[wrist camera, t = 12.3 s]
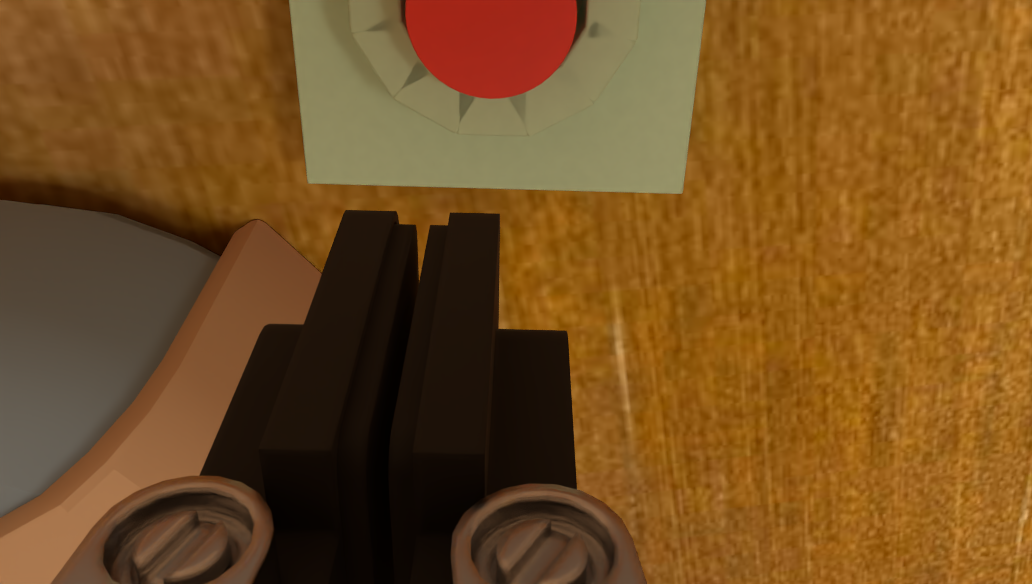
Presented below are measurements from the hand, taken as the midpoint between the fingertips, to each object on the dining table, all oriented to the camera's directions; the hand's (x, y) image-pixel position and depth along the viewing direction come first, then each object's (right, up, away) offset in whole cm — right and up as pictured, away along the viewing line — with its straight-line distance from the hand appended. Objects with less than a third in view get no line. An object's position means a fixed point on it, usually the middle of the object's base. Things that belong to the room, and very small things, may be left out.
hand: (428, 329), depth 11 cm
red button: (0, +7, +11) cm, 13 cm away
